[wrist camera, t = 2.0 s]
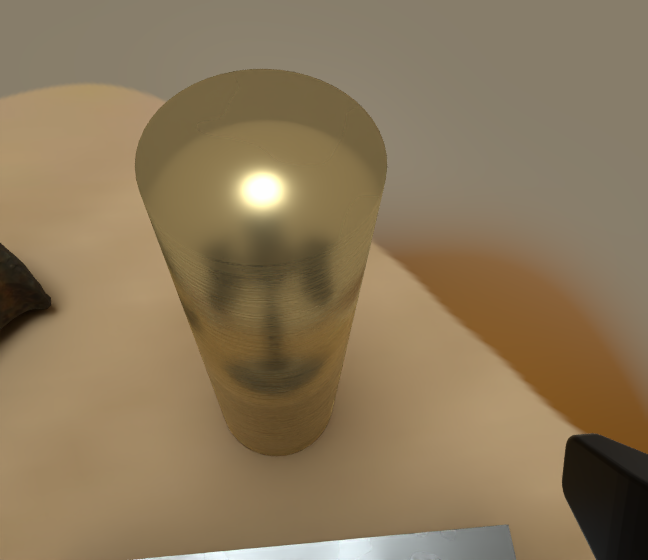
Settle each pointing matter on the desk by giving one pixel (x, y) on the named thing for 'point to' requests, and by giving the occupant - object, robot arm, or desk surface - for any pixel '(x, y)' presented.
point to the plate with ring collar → (384, 548)
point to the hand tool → (18, 288)
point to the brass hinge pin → (266, 239)
